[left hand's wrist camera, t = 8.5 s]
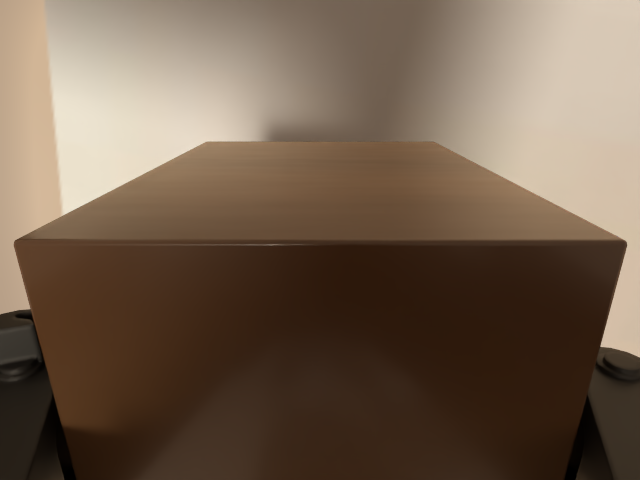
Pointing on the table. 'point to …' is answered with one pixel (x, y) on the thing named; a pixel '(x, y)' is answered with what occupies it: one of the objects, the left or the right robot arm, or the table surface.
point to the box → (320, 318)
